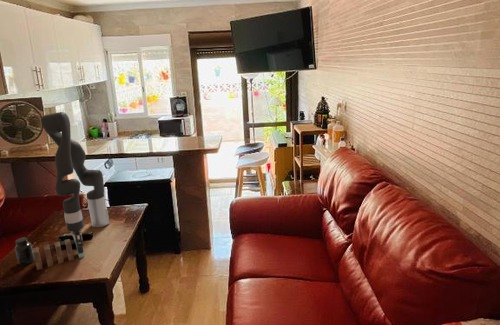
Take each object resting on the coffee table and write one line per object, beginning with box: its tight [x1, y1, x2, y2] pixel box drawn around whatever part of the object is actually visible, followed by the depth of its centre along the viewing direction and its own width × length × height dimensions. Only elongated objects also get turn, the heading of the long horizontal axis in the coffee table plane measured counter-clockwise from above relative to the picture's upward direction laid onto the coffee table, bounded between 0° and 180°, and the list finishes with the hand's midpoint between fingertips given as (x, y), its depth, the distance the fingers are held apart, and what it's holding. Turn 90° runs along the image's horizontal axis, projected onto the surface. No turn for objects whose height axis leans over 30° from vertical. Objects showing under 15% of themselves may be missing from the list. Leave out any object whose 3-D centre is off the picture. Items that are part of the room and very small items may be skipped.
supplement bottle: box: [14, 236, 35, 266], centre depth 174 cm, size 7×7×12 cm
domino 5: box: [75, 242, 85, 259], centre depth 178 cm, size 2×5×9 cm, turn 32°
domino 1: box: [32, 246, 43, 271], centre depth 169 cm, size 2×5×9 cm, turn 32°
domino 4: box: [64, 238, 75, 262], centre depth 176 cm, size 2×5×9 cm, turn 32°
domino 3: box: [54, 241, 65, 265], centre depth 174 cm, size 2×5×9 cm, turn 32°
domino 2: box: [43, 243, 54, 267], centre depth 172 cm, size 2×5×9 cm, turn 32°
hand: (79, 249), depth 179 cm, fingers open, 8 cm apart
